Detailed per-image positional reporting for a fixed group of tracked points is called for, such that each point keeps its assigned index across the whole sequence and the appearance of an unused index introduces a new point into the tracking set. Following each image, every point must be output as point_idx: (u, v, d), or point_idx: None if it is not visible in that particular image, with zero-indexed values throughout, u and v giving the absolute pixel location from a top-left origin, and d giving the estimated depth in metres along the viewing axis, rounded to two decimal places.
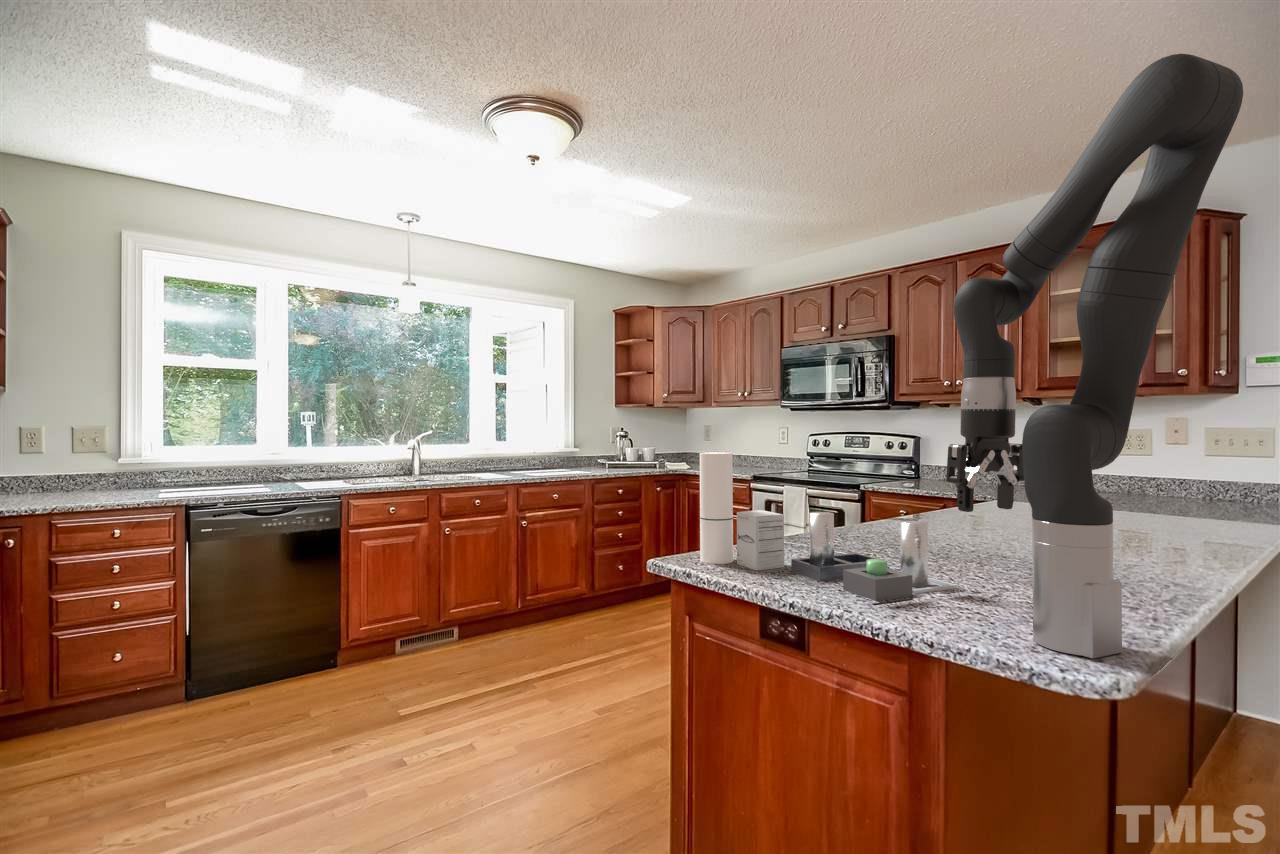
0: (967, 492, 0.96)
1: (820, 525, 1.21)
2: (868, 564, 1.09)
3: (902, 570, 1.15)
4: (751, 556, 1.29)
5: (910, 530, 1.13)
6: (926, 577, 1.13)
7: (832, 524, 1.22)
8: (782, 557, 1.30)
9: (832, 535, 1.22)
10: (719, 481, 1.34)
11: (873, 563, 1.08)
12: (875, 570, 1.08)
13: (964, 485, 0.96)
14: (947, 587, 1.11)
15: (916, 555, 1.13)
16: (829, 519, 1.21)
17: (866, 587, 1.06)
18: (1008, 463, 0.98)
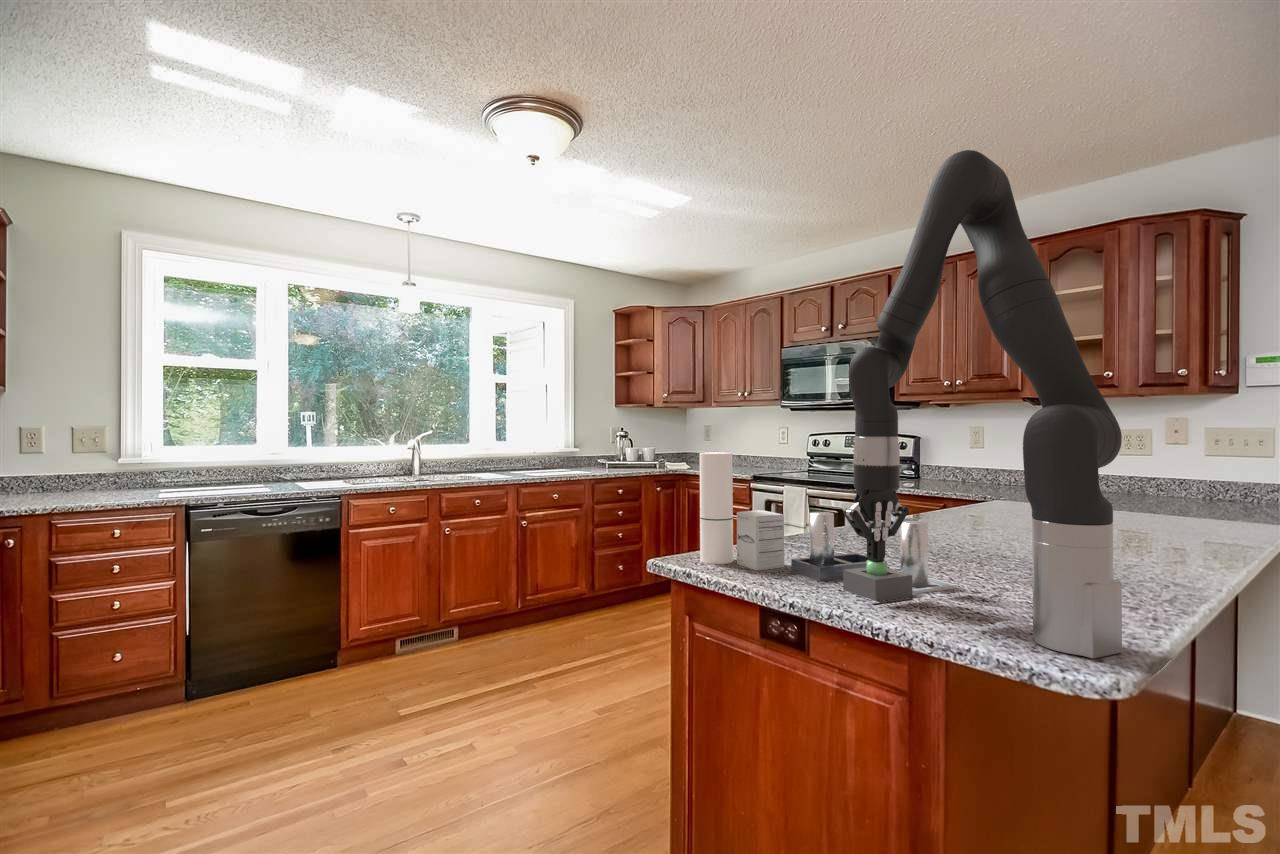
0: (875, 545, 1.08)
1: (820, 525, 1.21)
2: (868, 565, 1.09)
3: (902, 570, 1.15)
4: (751, 556, 1.29)
5: (910, 530, 1.13)
6: (926, 577, 1.13)
7: (832, 524, 1.22)
8: (782, 557, 1.30)
9: (832, 535, 1.22)
10: (719, 481, 1.34)
11: (873, 564, 1.08)
12: (875, 571, 1.08)
13: (873, 541, 1.08)
14: (947, 587, 1.11)
15: (916, 555, 1.13)
16: (829, 519, 1.21)
17: (866, 587, 1.06)
18: (889, 516, 1.08)
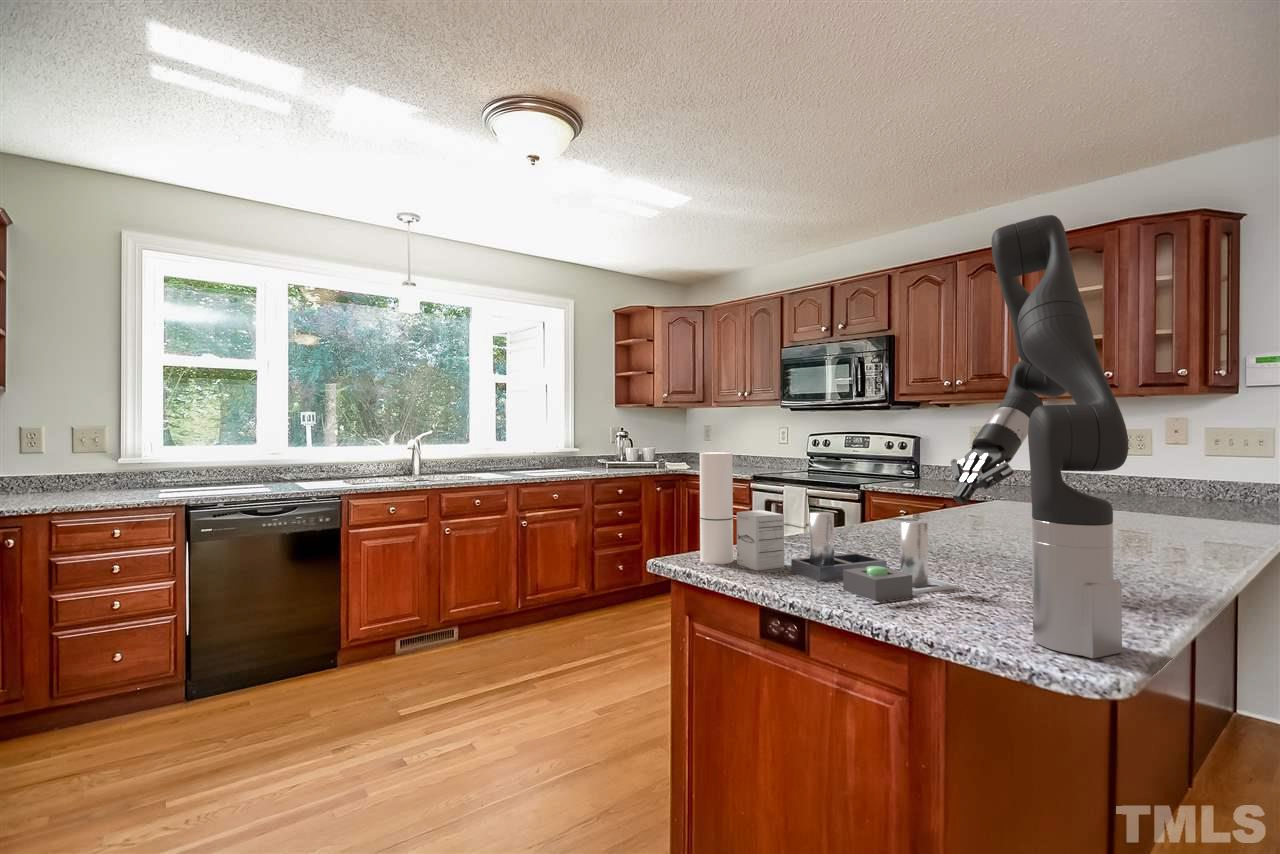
0: None
1: (820, 525, 1.21)
2: (868, 571, 1.09)
3: (902, 570, 1.15)
4: (751, 556, 1.29)
5: (910, 530, 1.13)
6: (926, 577, 1.13)
7: (832, 524, 1.22)
8: (782, 557, 1.30)
9: (832, 535, 1.22)
10: (719, 481, 1.34)
11: (873, 570, 1.08)
12: None
13: (960, 483, 1.21)
14: (947, 587, 1.11)
15: (916, 555, 1.13)
16: (829, 519, 1.21)
17: (866, 587, 1.06)
18: (980, 464, 1.20)
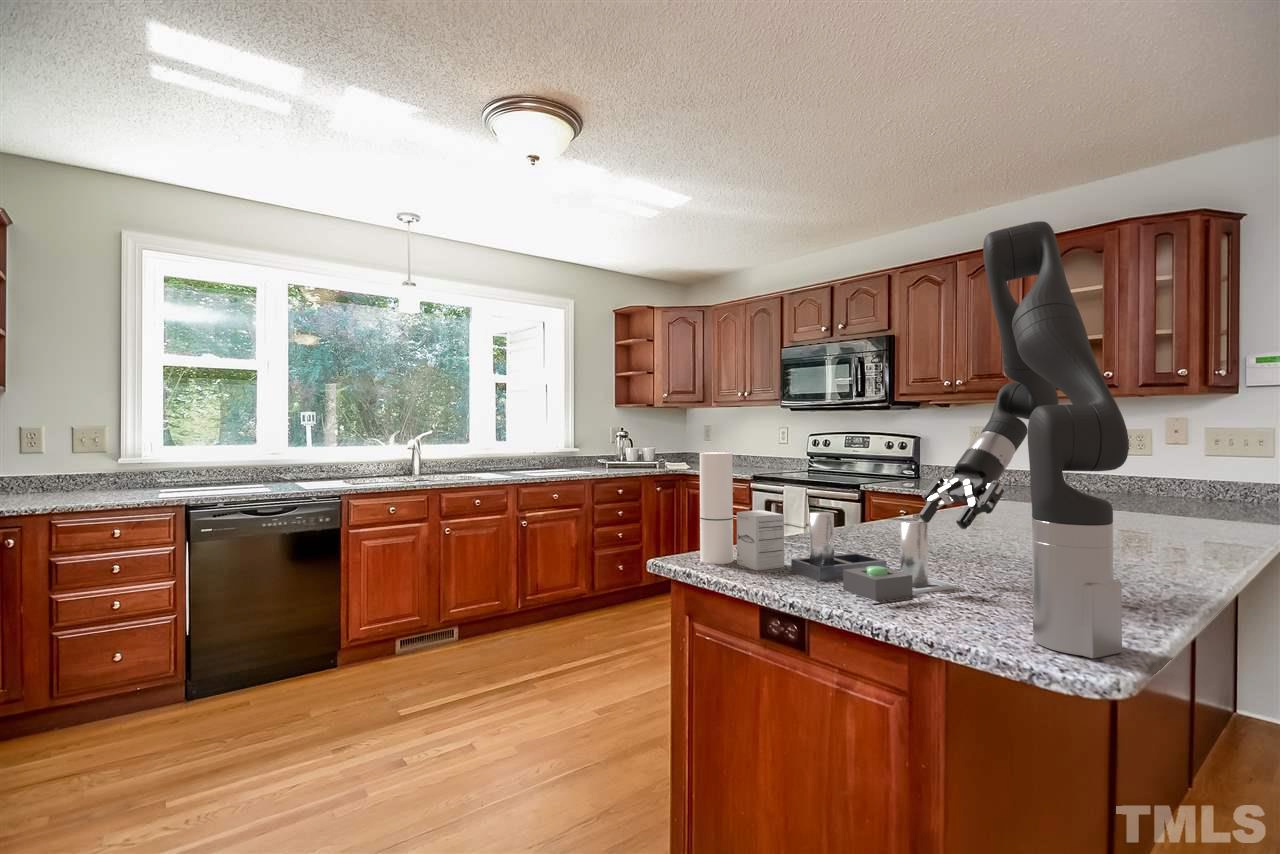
0: (927, 505, 1.23)
1: (820, 525, 1.21)
2: (868, 571, 1.09)
3: (902, 570, 1.15)
4: (751, 556, 1.29)
5: (910, 530, 1.13)
6: (926, 577, 1.13)
7: (832, 524, 1.22)
8: (782, 557, 1.30)
9: (832, 535, 1.22)
10: (719, 481, 1.34)
11: (873, 570, 1.08)
12: None
13: (928, 500, 1.23)
14: (947, 587, 1.11)
15: (916, 555, 1.13)
16: (829, 519, 1.21)
17: (866, 587, 1.06)
18: (969, 488, 1.16)
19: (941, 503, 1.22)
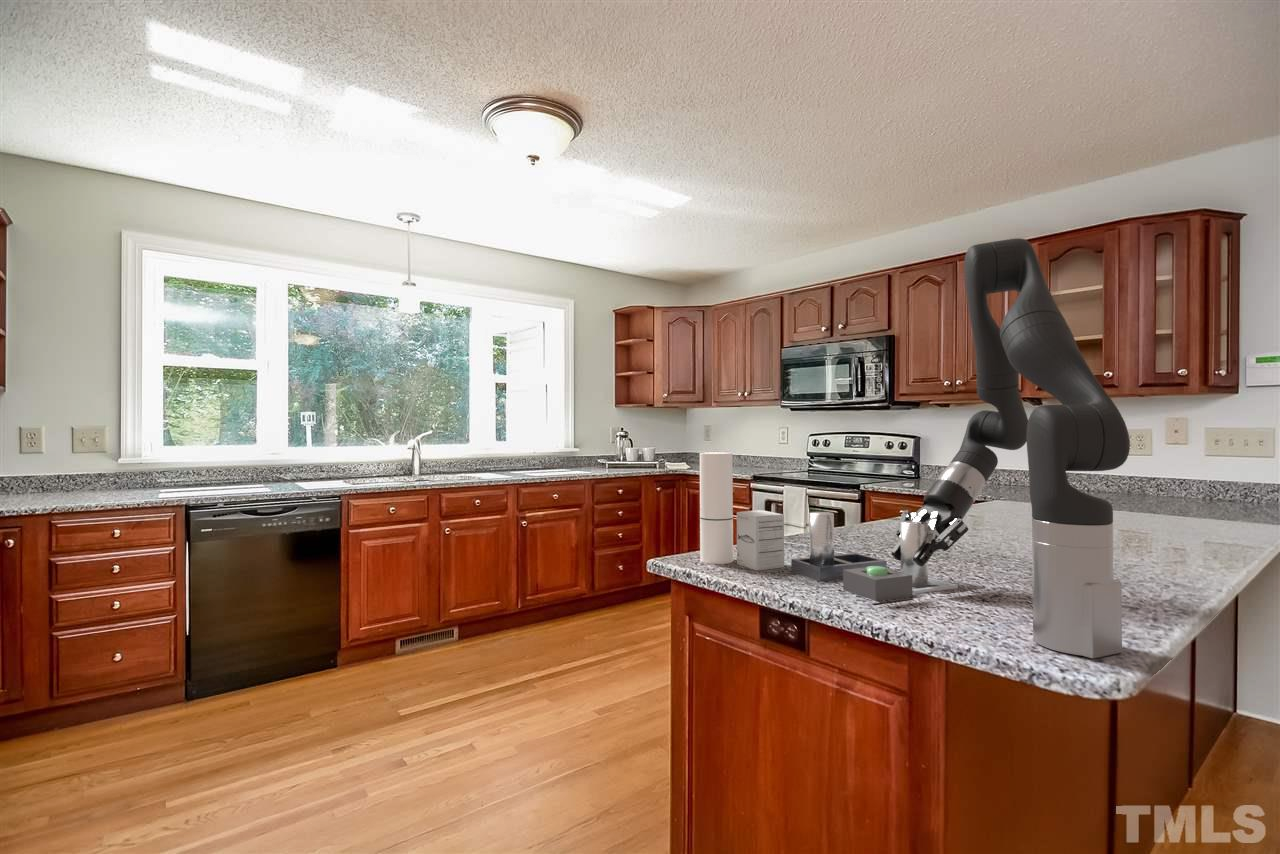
0: (899, 542, 1.18)
1: (820, 525, 1.21)
2: (868, 571, 1.09)
3: (902, 570, 1.15)
4: (751, 556, 1.29)
5: (910, 530, 1.13)
6: (926, 577, 1.13)
7: (832, 524, 1.22)
8: (782, 557, 1.30)
9: (832, 535, 1.22)
10: (719, 481, 1.34)
11: (873, 570, 1.08)
12: None
13: None
14: (947, 587, 1.11)
15: None
16: (829, 519, 1.21)
17: (866, 587, 1.06)
18: (933, 522, 1.14)
19: None
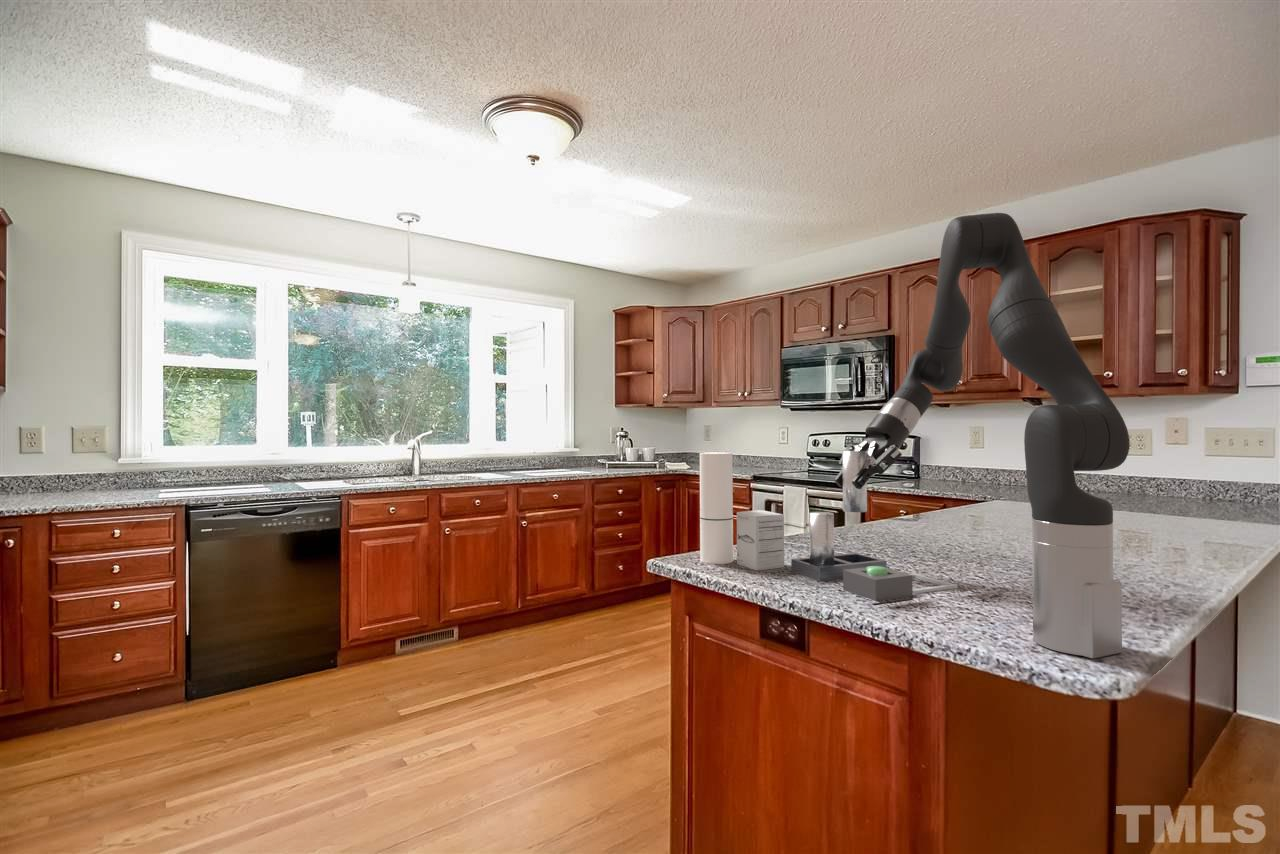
0: (842, 470, 1.29)
1: (820, 525, 1.21)
2: (868, 571, 1.09)
3: (843, 494, 1.26)
4: (751, 556, 1.29)
5: (850, 457, 1.24)
6: (865, 500, 1.24)
7: (832, 524, 1.22)
8: (782, 557, 1.30)
9: (832, 535, 1.22)
10: (719, 481, 1.34)
11: (873, 570, 1.08)
12: None
13: None
14: (947, 587, 1.11)
15: None
16: (829, 519, 1.21)
17: (866, 587, 1.06)
18: (871, 450, 1.25)
19: None
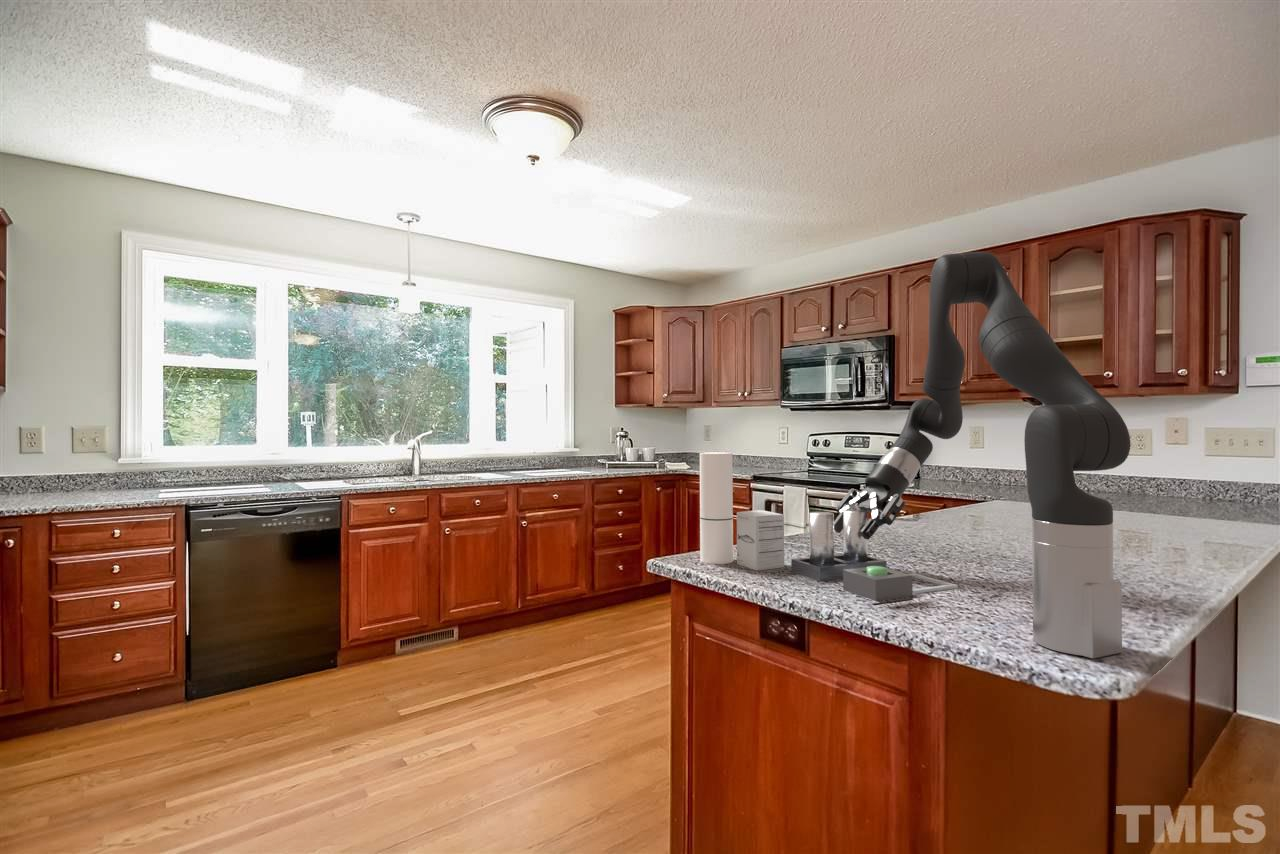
0: None
1: (820, 525, 1.21)
2: (868, 571, 1.09)
3: (844, 554, 1.26)
4: (751, 556, 1.29)
5: (851, 518, 1.24)
6: (865, 561, 1.24)
7: (832, 524, 1.22)
8: (782, 557, 1.30)
9: (832, 535, 1.22)
10: (719, 481, 1.34)
11: (873, 570, 1.08)
12: None
13: None
14: (947, 587, 1.11)
15: (856, 540, 1.24)
16: (829, 519, 1.21)
17: (866, 587, 1.06)
18: (874, 501, 1.25)
19: None
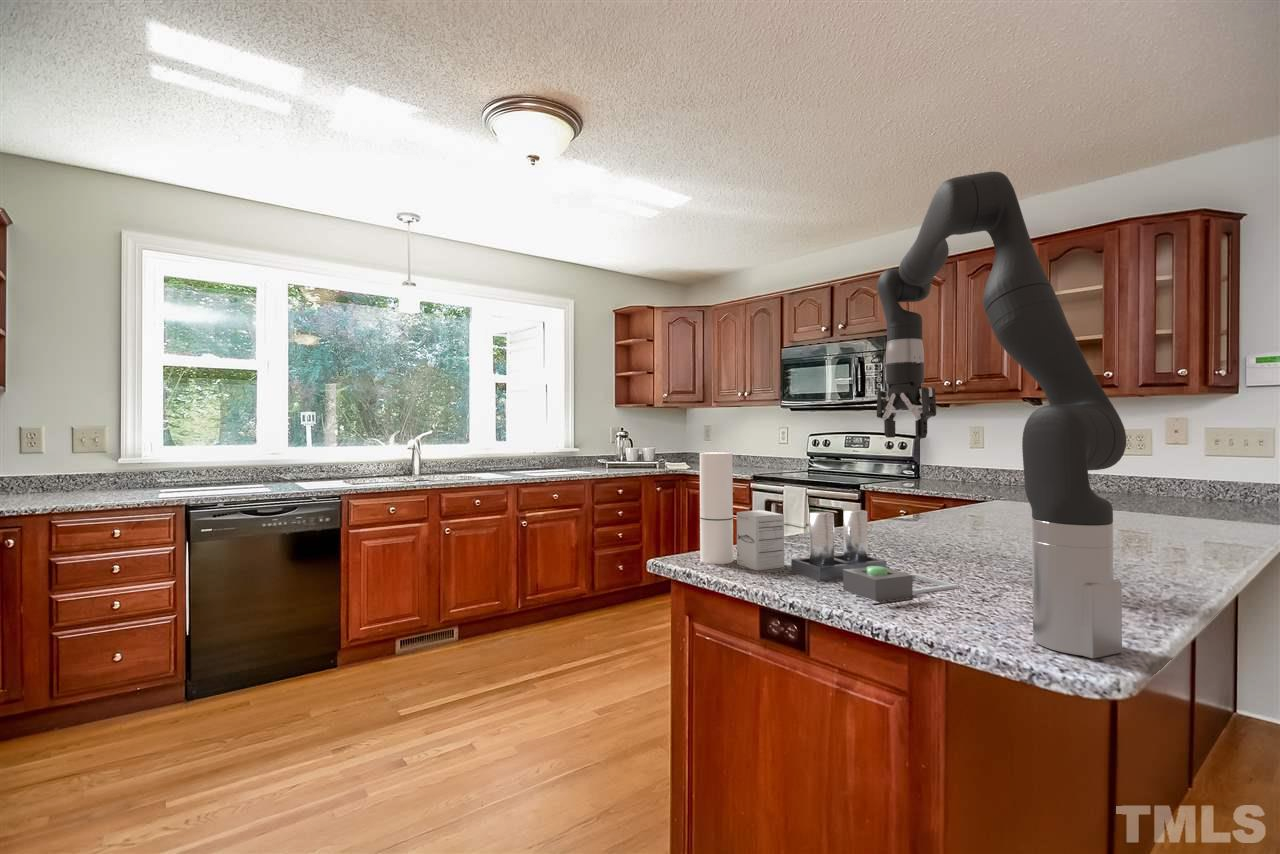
0: None
1: (820, 525, 1.21)
2: (868, 571, 1.09)
3: (844, 554, 1.26)
4: (751, 556, 1.29)
5: (851, 518, 1.24)
6: (865, 561, 1.24)
7: (832, 524, 1.22)
8: (782, 557, 1.30)
9: (832, 535, 1.22)
10: (719, 481, 1.34)
11: (873, 570, 1.08)
12: None
13: None
14: (947, 587, 1.11)
15: (856, 540, 1.24)
16: (829, 519, 1.21)
17: (866, 587, 1.06)
18: (908, 402, 1.31)
19: (894, 414, 1.38)
